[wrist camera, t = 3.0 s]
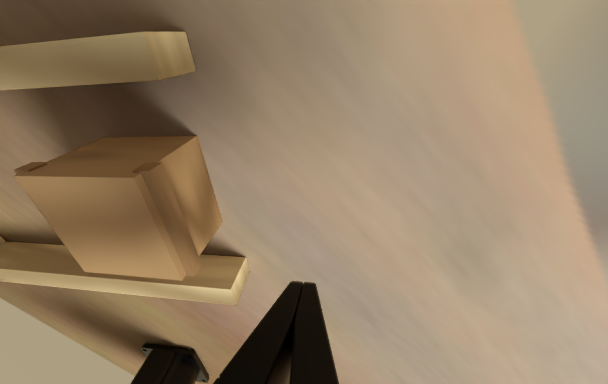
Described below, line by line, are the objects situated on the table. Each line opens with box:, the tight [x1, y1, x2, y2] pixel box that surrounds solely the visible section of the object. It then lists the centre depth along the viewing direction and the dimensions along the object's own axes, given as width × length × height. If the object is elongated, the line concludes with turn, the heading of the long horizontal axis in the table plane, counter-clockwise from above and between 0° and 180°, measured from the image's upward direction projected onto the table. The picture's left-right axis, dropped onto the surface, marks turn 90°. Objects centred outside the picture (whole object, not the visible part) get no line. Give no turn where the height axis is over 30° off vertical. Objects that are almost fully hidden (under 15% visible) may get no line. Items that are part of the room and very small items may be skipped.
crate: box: [14, 136, 223, 281], centre depth 14 cm, size 6×7×5 cm
